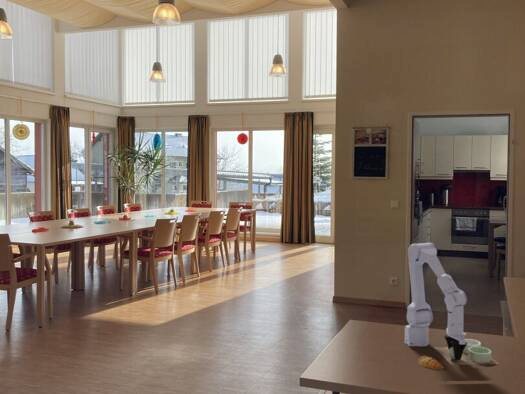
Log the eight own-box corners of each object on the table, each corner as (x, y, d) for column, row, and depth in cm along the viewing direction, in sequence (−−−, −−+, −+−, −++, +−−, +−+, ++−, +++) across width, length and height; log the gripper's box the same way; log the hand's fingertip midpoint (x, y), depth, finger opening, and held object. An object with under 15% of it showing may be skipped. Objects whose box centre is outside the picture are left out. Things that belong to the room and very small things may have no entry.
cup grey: (463, 354, 209) (463, 345, 209) (455, 347, 217) (455, 339, 217) (483, 353, 209) (484, 345, 209) (475, 347, 217) (475, 338, 217)
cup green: (473, 363, 200) (473, 354, 200) (464, 355, 208) (464, 346, 208) (494, 362, 200) (494, 353, 200) (485, 355, 208) (485, 346, 208)
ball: (451, 361, 201) (451, 348, 201) (446, 357, 206) (446, 344, 206) (464, 361, 201) (464, 348, 201) (459, 356, 206) (459, 344, 206)
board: (451, 367, 198) (451, 364, 198) (434, 349, 218) (434, 347, 218) (498, 366, 198) (498, 364, 198) (477, 349, 218) (477, 346, 218)
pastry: (447, 370, 196) (447, 360, 195) (436, 375, 192) (436, 364, 192) (427, 363, 203) (427, 353, 203) (415, 367, 200) (415, 357, 199)
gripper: (473, 327, 196) (473, 363, 197) (458, 316, 210) (458, 350, 211) (454, 328, 196) (454, 363, 196) (441, 317, 210) (440, 350, 211)
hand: (455, 356), depth 204 cm, fingers closed on ball, 5 cm apart
